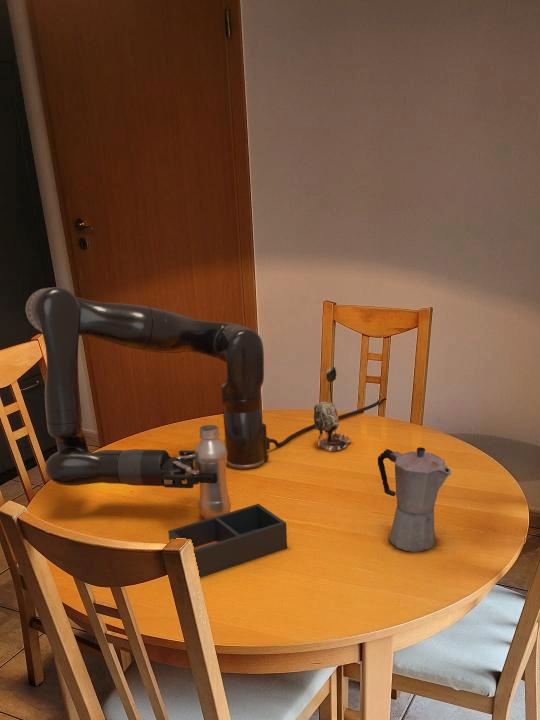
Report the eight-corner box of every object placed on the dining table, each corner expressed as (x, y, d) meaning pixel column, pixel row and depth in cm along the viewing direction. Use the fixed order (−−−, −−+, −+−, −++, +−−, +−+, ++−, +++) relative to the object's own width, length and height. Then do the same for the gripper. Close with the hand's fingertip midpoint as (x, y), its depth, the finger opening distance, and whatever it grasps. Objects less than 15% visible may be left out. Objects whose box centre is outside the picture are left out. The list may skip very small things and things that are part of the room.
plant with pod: (304, 447, 201) (302, 370, 192) (337, 436, 207) (337, 361, 198) (324, 456, 195) (324, 377, 186) (358, 445, 201) (359, 368, 192)
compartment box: (170, 556, 152) (168, 530, 150) (259, 528, 162) (258, 503, 159) (195, 579, 144) (192, 552, 142) (287, 548, 154) (286, 522, 151)
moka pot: (437, 561, 148) (443, 463, 139) (363, 542, 155) (364, 447, 146) (456, 540, 155) (463, 445, 146) (384, 523, 162) (387, 431, 153)
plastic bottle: (199, 511, 170) (192, 423, 161) (231, 509, 170) (225, 421, 161) (199, 525, 164) (191, 434, 155) (231, 522, 164) (225, 432, 155)
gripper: (131, 464, 156) (212, 466, 154) (151, 438, 168) (227, 439, 166) (136, 498, 159) (215, 501, 157) (155, 470, 172) (229, 472, 170)
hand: (221, 469), depth 162 cm, fingers open, 7 cm apart
